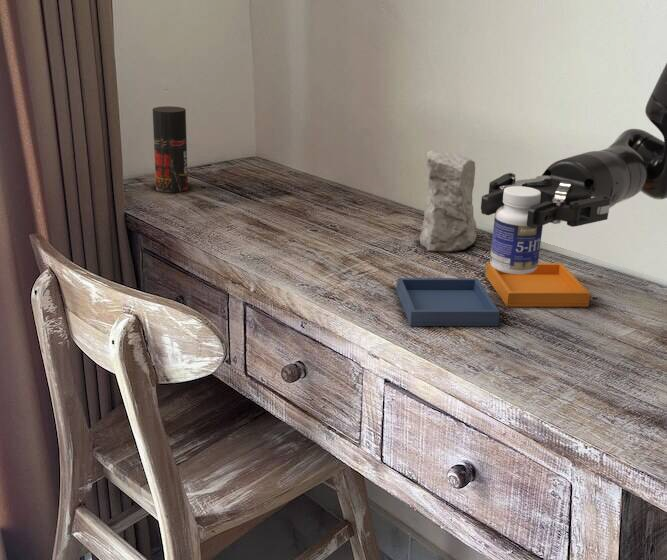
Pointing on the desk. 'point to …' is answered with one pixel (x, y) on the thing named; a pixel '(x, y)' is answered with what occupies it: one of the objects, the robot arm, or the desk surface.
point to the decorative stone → (449, 203)
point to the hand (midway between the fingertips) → (507, 211)
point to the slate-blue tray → (446, 302)
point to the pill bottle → (516, 232)
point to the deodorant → (170, 149)
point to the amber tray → (539, 287)
